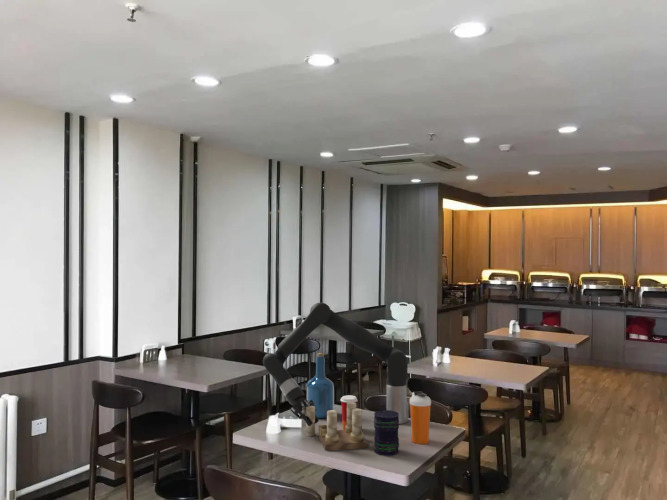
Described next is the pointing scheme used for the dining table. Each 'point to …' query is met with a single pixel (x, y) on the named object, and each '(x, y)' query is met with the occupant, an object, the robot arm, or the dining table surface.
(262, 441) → the dining table surface
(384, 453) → the storage jar
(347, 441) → the stool
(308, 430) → the leg
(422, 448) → the dining table surface
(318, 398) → the wine bottle
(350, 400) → the paper cup
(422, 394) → the shaker bottle
